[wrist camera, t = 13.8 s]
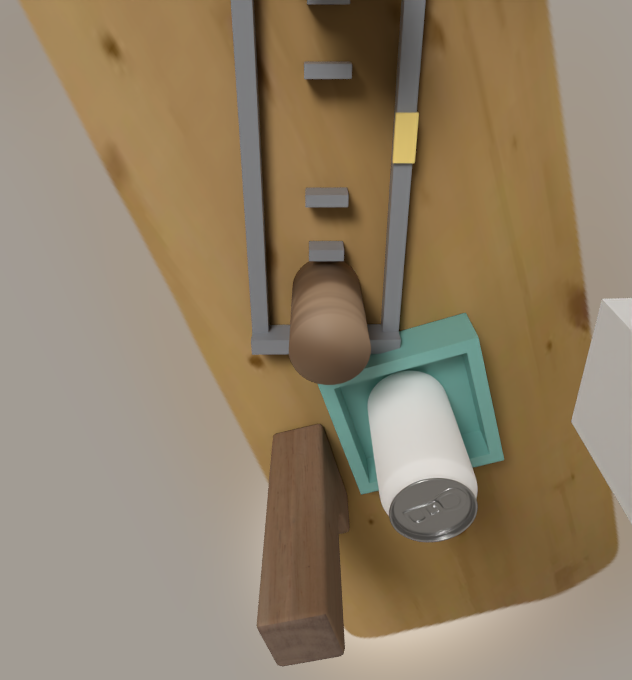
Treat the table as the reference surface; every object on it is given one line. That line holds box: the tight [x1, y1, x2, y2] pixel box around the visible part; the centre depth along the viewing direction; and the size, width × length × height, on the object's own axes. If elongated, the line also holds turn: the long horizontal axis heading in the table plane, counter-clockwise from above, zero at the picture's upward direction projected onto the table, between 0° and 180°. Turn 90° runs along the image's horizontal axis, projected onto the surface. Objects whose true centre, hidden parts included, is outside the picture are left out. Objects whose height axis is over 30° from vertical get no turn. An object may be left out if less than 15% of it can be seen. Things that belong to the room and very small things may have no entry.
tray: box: [318, 313, 504, 494], centre depth 45 cm, size 12×12×4 cm
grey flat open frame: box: [231, 0, 426, 355], centre depth 36 cm, size 30×11×2 cm, turn 0°
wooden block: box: [257, 424, 350, 666], centre depth 43 cm, size 9×4×18 cm, turn 16°
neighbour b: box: [289, 261, 371, 385], centre depth 38 cm, size 5×5×9 cm
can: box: [368, 371, 478, 542], centre depth 41 cm, size 6×6×12 cm
